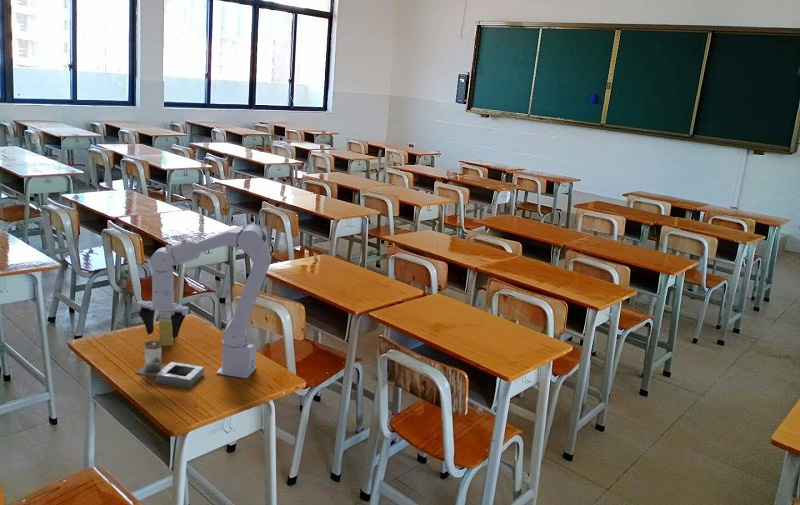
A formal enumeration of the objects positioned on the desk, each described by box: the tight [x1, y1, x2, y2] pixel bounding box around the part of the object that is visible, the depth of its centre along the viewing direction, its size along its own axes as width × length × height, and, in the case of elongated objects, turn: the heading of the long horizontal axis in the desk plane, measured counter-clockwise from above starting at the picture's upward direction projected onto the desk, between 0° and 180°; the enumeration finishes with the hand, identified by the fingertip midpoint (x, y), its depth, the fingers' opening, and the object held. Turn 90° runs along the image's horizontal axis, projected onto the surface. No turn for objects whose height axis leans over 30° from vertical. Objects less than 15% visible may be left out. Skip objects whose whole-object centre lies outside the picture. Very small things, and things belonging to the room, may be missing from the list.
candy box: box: [158, 291, 177, 347], centre depth 209 cm, size 9×4×15 cm, turn 11°
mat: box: [135, 364, 167, 378], centre depth 189 cm, size 7×7×1 cm
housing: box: [155, 361, 205, 389], centre depth 185 cm, size 10×9×2 cm
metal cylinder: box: [144, 340, 162, 373], centre depth 188 cm, size 4×4×8 cm
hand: (162, 335), depth 189 cm, fingers open, 7 cm apart
